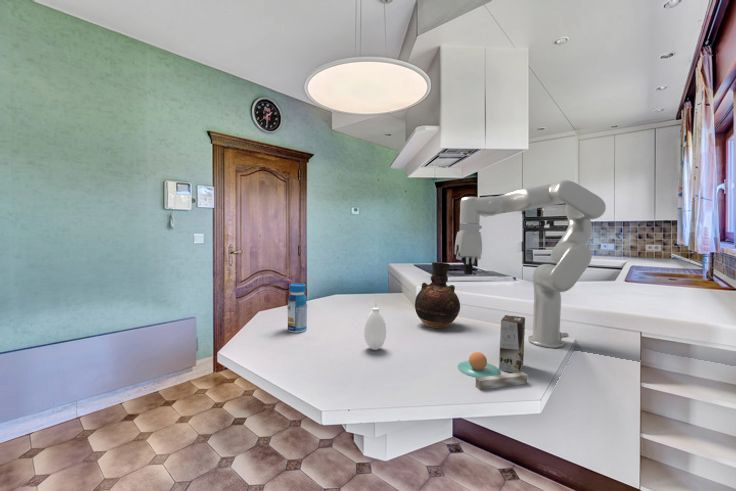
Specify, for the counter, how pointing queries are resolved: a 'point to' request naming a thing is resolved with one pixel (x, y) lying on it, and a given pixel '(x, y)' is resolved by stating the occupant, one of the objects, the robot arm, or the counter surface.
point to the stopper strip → (501, 380)
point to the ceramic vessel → (437, 299)
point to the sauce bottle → (375, 329)
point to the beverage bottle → (297, 309)
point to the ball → (477, 361)
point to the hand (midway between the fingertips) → (468, 273)
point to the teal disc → (487, 371)
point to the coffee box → (512, 343)
